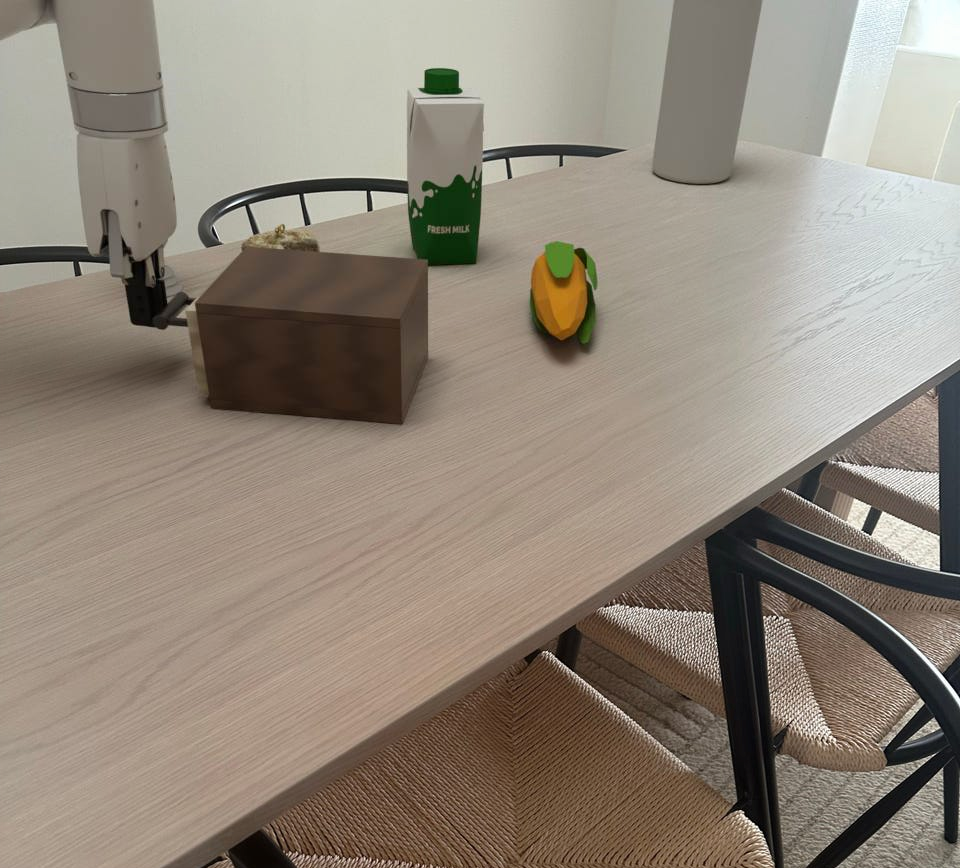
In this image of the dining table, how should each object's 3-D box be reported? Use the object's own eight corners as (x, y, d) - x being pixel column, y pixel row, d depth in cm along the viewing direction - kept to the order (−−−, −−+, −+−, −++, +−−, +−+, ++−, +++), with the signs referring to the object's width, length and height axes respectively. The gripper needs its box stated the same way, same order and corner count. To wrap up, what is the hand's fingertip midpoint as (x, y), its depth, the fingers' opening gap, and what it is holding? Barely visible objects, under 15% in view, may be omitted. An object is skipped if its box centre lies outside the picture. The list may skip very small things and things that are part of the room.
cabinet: (210, 408, 90) (194, 302, 84) (257, 343, 102) (246, 246, 95) (402, 424, 89) (400, 318, 83) (428, 357, 100) (428, 259, 94)
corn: (595, 225, 110) (607, 290, 95) (592, 293, 115) (604, 365, 100) (528, 227, 111) (530, 292, 95) (529, 294, 116) (530, 367, 100)
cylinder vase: (635, 171, 157) (658, -16, 141) (684, 159, 164) (711, -21, 148) (698, 190, 150) (729, -5, 134) (746, 176, 157) (781, -11, 141)
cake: (225, 279, 117) (217, 231, 114) (274, 256, 124) (267, 210, 121) (296, 287, 113) (288, 238, 110) (342, 263, 120) (336, 216, 117)
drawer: (146, 390, 91) (130, 305, 86) (196, 332, 101) (184, 253, 96) (377, 409, 89) (374, 324, 84) (403, 348, 100) (402, 269, 95)
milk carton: (470, 242, 128) (475, 67, 116) (485, 266, 122) (491, 83, 109) (403, 244, 127) (400, 67, 114) (414, 269, 120) (412, 83, 107)
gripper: (111, 87, 88) (141, 291, 100) (34, 124, 76) (78, 350, 88) (193, 95, 88) (214, 299, 99) (128, 134, 76) (160, 360, 88)
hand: (150, 323), depth 94 cm, fingers closed
